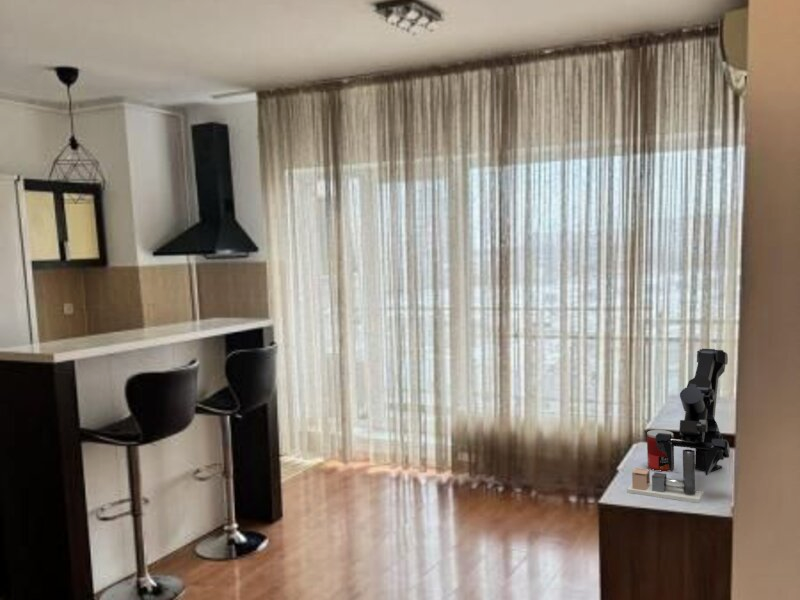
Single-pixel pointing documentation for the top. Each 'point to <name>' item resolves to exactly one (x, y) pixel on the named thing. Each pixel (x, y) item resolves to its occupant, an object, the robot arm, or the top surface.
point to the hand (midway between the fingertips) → (688, 472)
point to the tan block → (641, 479)
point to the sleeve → (658, 482)
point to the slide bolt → (685, 474)
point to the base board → (669, 493)
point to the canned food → (657, 452)
